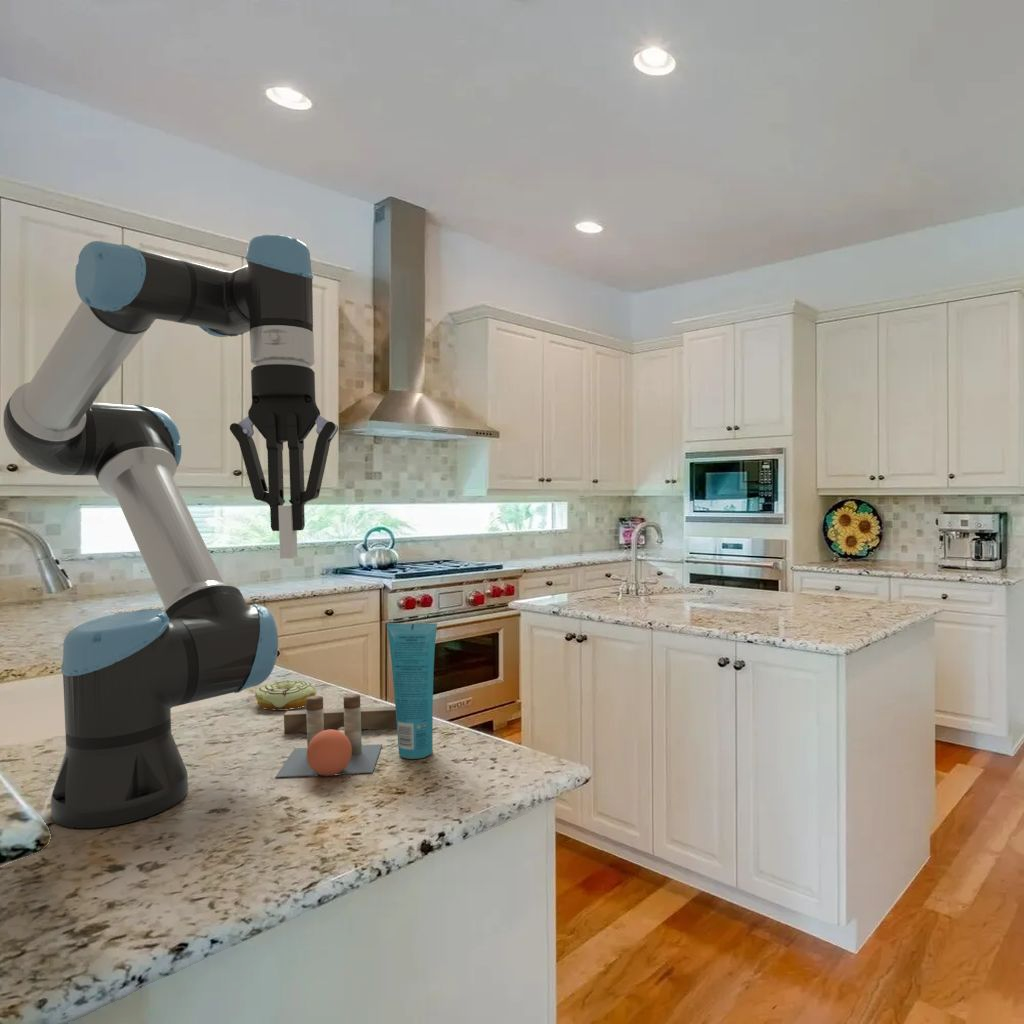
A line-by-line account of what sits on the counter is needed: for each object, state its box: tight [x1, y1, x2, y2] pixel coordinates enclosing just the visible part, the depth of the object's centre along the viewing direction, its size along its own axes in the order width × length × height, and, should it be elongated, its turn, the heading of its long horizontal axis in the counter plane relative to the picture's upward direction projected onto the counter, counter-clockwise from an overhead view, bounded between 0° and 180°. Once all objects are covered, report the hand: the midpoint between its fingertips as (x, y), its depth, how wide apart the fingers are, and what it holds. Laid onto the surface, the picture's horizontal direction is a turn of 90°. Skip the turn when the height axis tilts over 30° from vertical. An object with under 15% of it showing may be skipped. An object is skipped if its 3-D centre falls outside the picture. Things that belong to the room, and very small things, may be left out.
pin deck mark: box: [275, 743, 383, 778], centre depth 103 cm, size 13×11×1 cm
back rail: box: [283, 706, 397, 734], centre depth 117 cm, size 20×2×3 cm, turn 94°
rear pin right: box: [305, 695, 324, 748], centre depth 105 cm, size 2×2×8 cm
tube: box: [386, 622, 438, 760], centre depth 105 cm, size 7×5×19 cm, turn 89°
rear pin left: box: [342, 693, 363, 755], centre depth 105 cm, size 2×2×8 cm
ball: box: [306, 729, 352, 777], centre depth 98 cm, size 6×6×6 cm
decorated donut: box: [254, 679, 317, 710], centre depth 133 cm, size 10×11×4 cm
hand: (288, 557), depth 89 cm, fingers closed
